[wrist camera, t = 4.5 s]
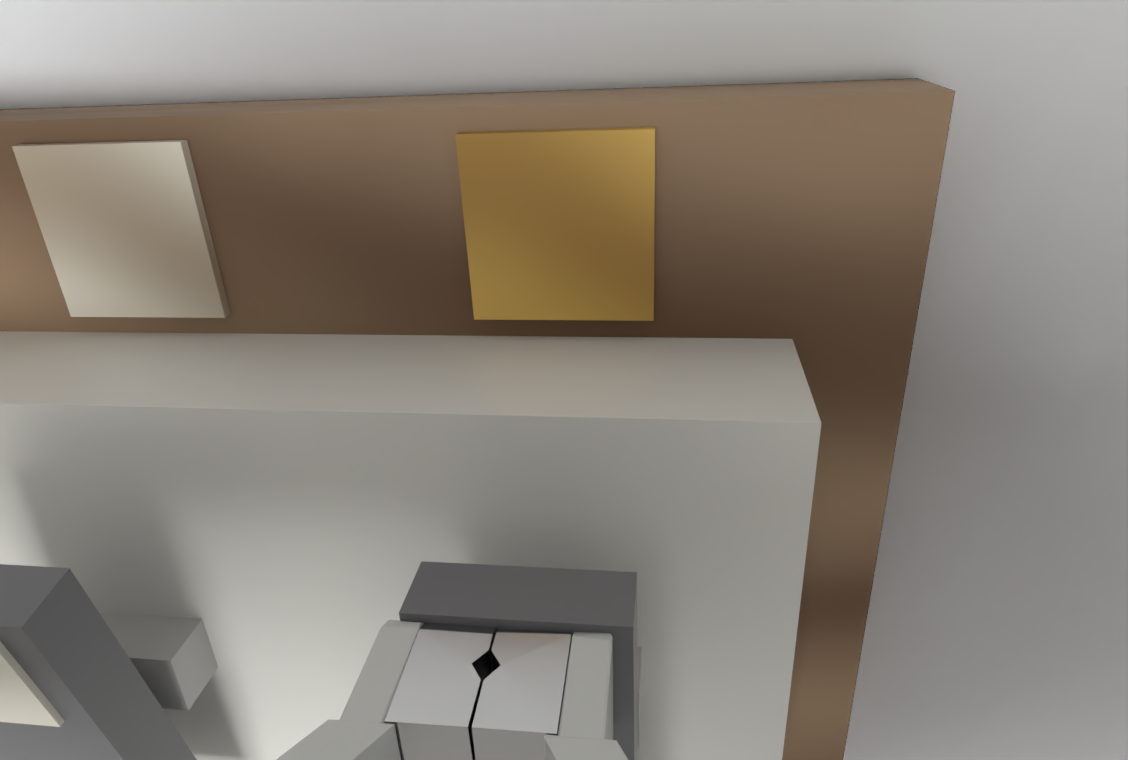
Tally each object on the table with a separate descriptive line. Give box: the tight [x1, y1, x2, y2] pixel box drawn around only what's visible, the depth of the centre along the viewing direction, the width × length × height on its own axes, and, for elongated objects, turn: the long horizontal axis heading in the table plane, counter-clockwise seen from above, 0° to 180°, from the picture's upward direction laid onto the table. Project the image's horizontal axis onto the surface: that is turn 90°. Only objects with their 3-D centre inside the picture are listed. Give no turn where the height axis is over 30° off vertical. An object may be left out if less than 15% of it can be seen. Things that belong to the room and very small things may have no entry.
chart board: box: [0, 79, 955, 760], centre depth 18 cm, size 18×28×2 cm, turn 93°
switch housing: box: [0, 331, 821, 760], centre depth 15 cm, size 10×24×4 cm, turn 93°
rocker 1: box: [0, 564, 197, 760], centre depth 13 cm, size 7×3×1 cm, turn 3°
